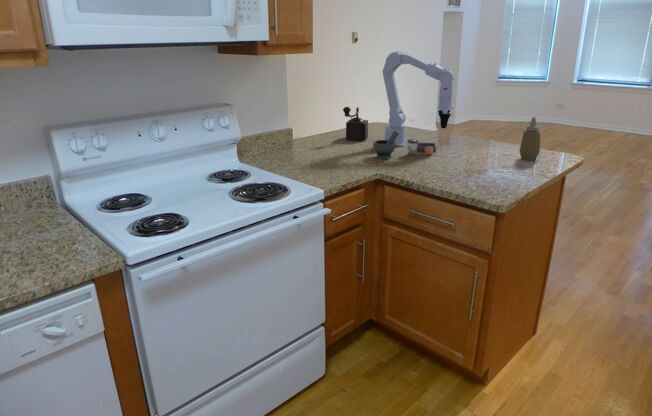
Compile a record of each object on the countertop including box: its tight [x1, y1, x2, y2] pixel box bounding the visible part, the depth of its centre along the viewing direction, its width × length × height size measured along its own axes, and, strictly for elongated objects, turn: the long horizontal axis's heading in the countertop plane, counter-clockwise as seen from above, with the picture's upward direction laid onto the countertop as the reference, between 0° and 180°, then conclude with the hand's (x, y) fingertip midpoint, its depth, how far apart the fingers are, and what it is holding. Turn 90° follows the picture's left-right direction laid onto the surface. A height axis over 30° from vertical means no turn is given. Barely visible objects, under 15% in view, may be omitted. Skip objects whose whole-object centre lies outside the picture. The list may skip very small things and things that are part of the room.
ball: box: [424, 146, 434, 156], centre depth 212 cm, size 4×4×4 cm
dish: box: [417, 142, 437, 153], centre depth 222 cm, size 11×8×2 cm
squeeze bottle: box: [519, 116, 541, 162], centre depth 198 cm, size 8×8×18 cm
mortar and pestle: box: [372, 131, 399, 160], centre depth 208 cm, size 11×9×12 cm
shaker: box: [406, 138, 419, 157], centre depth 212 cm, size 5×5×7 cm
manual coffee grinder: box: [342, 106, 369, 142], centre depth 243 cm, size 16×11×18 cm
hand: (443, 126), depth 222 cm, fingers open, 7 cm apart
